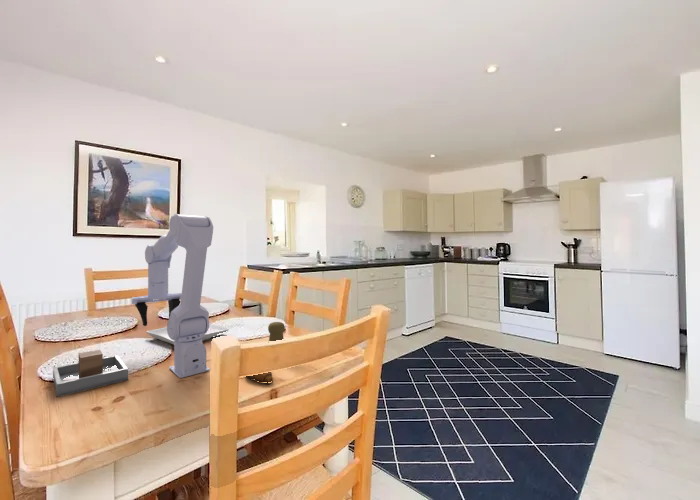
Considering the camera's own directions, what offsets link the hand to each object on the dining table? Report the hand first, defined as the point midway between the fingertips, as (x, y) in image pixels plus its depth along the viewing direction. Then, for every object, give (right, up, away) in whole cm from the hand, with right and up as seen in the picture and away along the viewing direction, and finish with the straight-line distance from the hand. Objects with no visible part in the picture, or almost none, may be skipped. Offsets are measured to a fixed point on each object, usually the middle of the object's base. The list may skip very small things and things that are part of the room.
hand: (158, 323), depth 108 cm
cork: (+39, -10, -3) cm, 41 cm away
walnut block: (-5, -9, -22) cm, 24 cm away
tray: (-5, -10, -22) cm, 24 cm away
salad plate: (+2, -10, +17) cm, 19 cm away
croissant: (+38, -11, -18) cm, 43 cm away
